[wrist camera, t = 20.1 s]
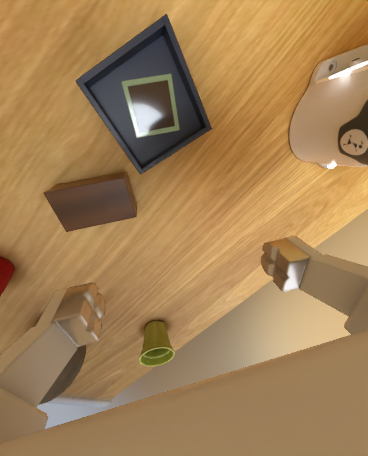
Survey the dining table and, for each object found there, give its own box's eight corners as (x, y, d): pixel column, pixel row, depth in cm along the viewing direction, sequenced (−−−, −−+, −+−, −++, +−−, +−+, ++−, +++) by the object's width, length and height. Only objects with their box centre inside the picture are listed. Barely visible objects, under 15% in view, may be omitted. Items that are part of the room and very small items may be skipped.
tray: (164, 26, 23) (166, 13, 20) (206, 128, 30) (212, 128, 27) (82, 85, 24) (74, 80, 22) (140, 170, 31) (140, 174, 28)
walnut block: (137, 207, 34) (136, 217, 31) (74, 220, 33) (66, 232, 30) (126, 171, 31) (124, 177, 27) (55, 185, 30) (43, 192, 26)
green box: (179, 162, 27) (179, 100, 17) (146, 169, 26) (127, 109, 17) (165, 112, 29) (158, 32, 20) (134, 117, 29) (111, 38, 19)
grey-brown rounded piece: (101, 315, 47) (84, 385, 34) (82, 344, 52) (62, 416, 39) (40, 304, 41) (-7, 382, 28) (25, 338, 46) (-21, 419, 33)
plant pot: (173, 329, 57) (178, 359, 49) (146, 338, 56) (146, 370, 49) (165, 312, 52) (169, 343, 44) (135, 323, 51) (133, 355, 44)
